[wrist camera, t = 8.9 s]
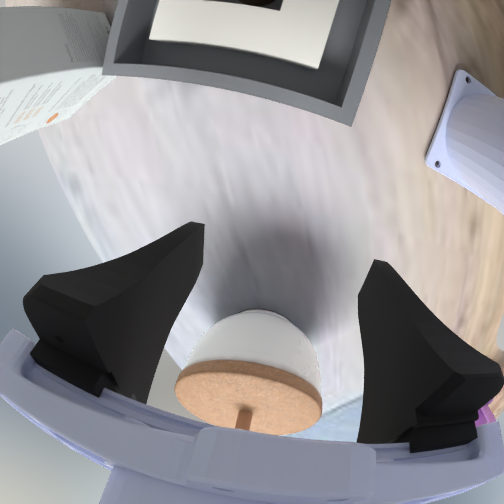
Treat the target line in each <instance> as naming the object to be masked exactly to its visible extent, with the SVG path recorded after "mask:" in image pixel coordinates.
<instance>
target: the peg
mask: <svg viewBox="0 0 504 504" xmlns="http://www.w3.org/2000/svg"><path fill="white" fill-rule="evenodd" d="M239 1H240V2H241V3H243V4H246V5H250V6H265V5H268V4H271V3H273V2H274V1H276V0H239Z"/></svg>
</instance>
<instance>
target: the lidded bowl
mask: <svg viewBox="0 0 504 504" xmlns="http://www.w3.org/2000/svg"><path fill="white" fill-rule="evenodd" d="M175 394H176V396H177V398H178V400H179V401H180V403H181V404H182V405H183V406H184V407H185V408H186V409H187V410H188V411H190V412H191V413H192V414H194V415H196V416H197V417H199V418H201V419H202V420H204V421H206V422H208V423H211V424H213V425H216V426H219V427H227V428H234V429H242V430H248V431H253V432H259V433H265V434H271V435H285V434H291V433H296V432H299V431H302V430H305V429H307V428H309V427H311V426H312V425H314V424H315V423H316V422H317V421H318V420H319V418H320V417H321V414H322V398H321V374H320V367H319V363H318V359H317V355H316V353H315V351H314V348H313V346H312V344H311V342H310V341H309V340H308V338H307V337H306V336H305V335H304V333H303V332H302V331H301V330H300V329H298V328H297V327H296V326H295V325H293V324H292V323H291V322H290V321H289V320H288V319H287V318H285V317H284V316H282V315H280V314H278V313H275V312H272V311H268V310H261V309H254V310H247V311H243V312H240V313H238V314H235V315H231V316H229V317H226V318H224V319H222V320H220V321H219V322H217V323H215V324H214V325H212V326H211V327H210V328H209V329H208V330H207V331H206V332H204V334H203V335H202V336H201V337H200V339H199V340H198V341H197V343H196V344H195V346H194V347H193V349H192V351H191V352H190V354H189V356H188V359H187V361H186V363H185V366H184V368H183V370H182V372H181V373H180V374H179V376H178V379H177V381H176V384H175Z"/></svg>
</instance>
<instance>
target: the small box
mask: <svg viewBox="0 0 504 504" xmlns="http://www.w3.org/2000/svg"><path fill="white" fill-rule="evenodd" d="M110 30H111V26H110V24H109V22H108V20H107V18H106V16H105V14H104V13H103V12H96V11H89V10H81V9H73V8H62V7H41V6H23V7H1V8H0V145H2V144H4V143H6V142H8V141H11V140H13V139H15V138H18V137H20V136H22V135H25V134H27V133H30V132H32V131H35V130H38V129H40V128H43V127H46V126H49V125H52V124H55V123H58V122H61V121H64V120H67V119H69V118H70V117H71V116H72V115H73V114H74V113H75V112H76V111H77V110H79V109H80V108H81V107H82V106H83V105H84V104H85V103H86V102H87V101H88V100H89V99H91V98H92V97H93V96H94V95H95V94H96V93H98V92H99V91H100V90H101V89H102V88H103V87H105V86H106V85H107V84H108V83H109V82H111V81H112V80H113V79H114V78H116V77H117V76H110V75H102V70H103V64H104V58H105V53H106V48H107V43H108V38H109V34H110Z"/></svg>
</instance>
